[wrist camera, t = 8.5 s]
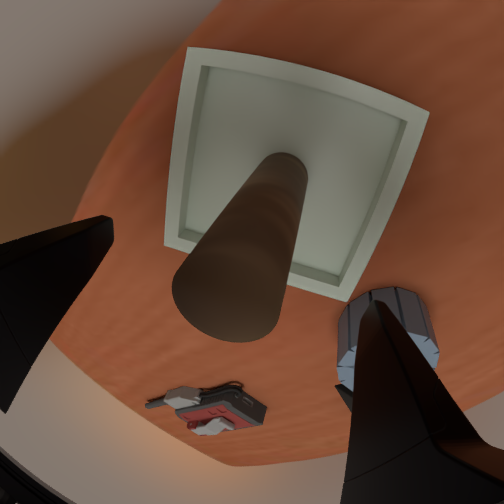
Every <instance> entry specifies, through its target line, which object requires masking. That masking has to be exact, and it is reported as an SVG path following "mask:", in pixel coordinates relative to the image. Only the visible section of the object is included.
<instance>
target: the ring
mask: <svg viewBox="0 0 504 504" xmlns="http://www.w3.org/2000/svg"><path fill="white" fill-rule="evenodd" d="M371 293H372V295H371V294H370V293H369V292H366V293H365V294H363V295H361V296H360V297H358V298H357V299H355V300H353V301H352V302H350V306H349V305H347V306H346V308H345V310H344V312H343V314H342V315H341V317H340V319H339V322H338V352H337V371H338V377H339V381H340V383H342V384H343V385H345V386H346V387H347V388H349V389H350V390H351V391H353V384H354V364H355V355H356V348H357V341H358V333H359V325H360V320H361V318H362V316H363V314H364V312H365V311H366V309H367V308H368V306H369V304H370V303H371V301H372V300H374V299H376V300H379V301H383V302H385V303H386V304H387V306H388V307H389V308H390V310H391V311H392V312H393V314H394V315H395V316H396V318H397V319H398V320H399V322H400V323H401V324H402V326H403V327H404V329H405V330H406V331H407V333H408V334H409V335H410V337H411V338H412V340H413V341H414V342H415V344H416V345H417V347H418V348H419V349H420V351H421V352H422V354H423V355H424V357H425V358H426V360H427V361H428V362H429V364H430V365H431V367H432V368H433V370H435V367H436V366H437V362H438V358H439V348H438V344H437V341H436V337H435V333H434V330H433V326H432V323H431V319H430V316H429V313H428V309H427V307H426V305H425V304H424V303H423V301H422V300H421V298H420V297H419V296H418V295H416V293H414V292H411V291H408V290H405V289H401V288H398V287H397V288H396V289H395V291H394V287H389V288H383V289H376V290H371Z"/></svg>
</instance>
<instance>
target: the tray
mask: <svg viewBox="0 0 504 504" xmlns="http://www.w3.org/2000/svg"><path fill="white" fill-rule="evenodd" d="M429 113H430V112H428V111H426V110H424V109H422V108H420V107H418V106H415V105H413V104H411V103H409V102H407V101H404V100H402V99H400V98H397V97H395V96H393V95H390V94H388V93H385V92H383V91H380V90H378V89H375V88H372V87H370V86H367V85H364V84H362V83H359V82H356V81H353V80H350V79H347V78H344V77H341V76H338V75H334V74H331V73H328V72H324V71H321V70H317V69H314V68H310V67H306V66H302V65H299V64H294V63H290V62H286V61H281V60H277V59H272V58H267V57H262V56H257V55H251V54H245V53H238V52H232V51H224V50H216V49H207V48H196V47H188V49H187V54H186V59H185V64H184V69H183V75H182V81H181V86H180V92H179V99H178V105H177V112H176V119H175V126H174V134H173V142H172V150H171V159H170V169H169V179H168V190H167V203H166V217H165V234H164V245H165V246H168V247H171V248H174V249H177V250H180V251H183V252H186V253H189V254H190V253H191V251H192V250H193V249H194V247H195V246H196V245H197V243H198V242H199V241H200V239H201V238H202V237H203V235H204V234H205V233H206V231H207V230H208V229H209V227H210V226H211V225H212V224H213V222H214V221H215V220H216V218H217V217H218V216H219V214H220V213H221V212H222V211H223V209H224V208H225V207H226V205H227V204H228V203H229V202H230V200H231V199H232V198H233V197H234V195H235V194H236V193H237V191H238V190H239V189H240V188H241V186H242V185H243V184H244V183H245V181H246V180H247V179H248V178H249V176H250V175H251V174H252V173H253V171H254V170H255V169H256V168H257V167H258V165H259V164H260V163H261V162H262V161H263V159H264V158H266V157H267V156H269V155H271V154H273V153H278V152H284V153H289V154H292V155H294V156H296V157H297V158H299V159H300V160H301V161H302V162H303V164H304V165H305V167H306V169H307V173H308V183H307V189H306V194H305V199H304V204H303V209H302V214H301V219H300V224H299V229H298V234H297V239H296V244H295V248H294V253H293V258H292V262H291V267H290V271H289V276H288V280H287V285H291V286H294V287H297V288H300V289H304V290H307V291H310V292H314V293H317V294H320V295H324V296H327V297H331V298H334V299H337V300H341V301H344V302H347V301H348V300H349V298H350V296H351V294H352V292H353V290H354V288H355V287H356V285H357V283H358V281H359V279H360V277H361V275H362V273H363V271H364V269H365V267H366V265H367V264H368V262H369V260H370V258H371V256H372V253H373V251H374V249H375V247H376V245H377V243H378V241H379V239H380V237H381V235H382V233H383V231H384V228H385V226H386V224H387V222H388V220H389V217H390V215H391V213H392V211H393V208H394V206H395V204H396V201H397V199H398V197H399V194H400V192H401V190H402V187H403V185H404V182H405V180H406V177H407V175H408V172H409V170H410V167H411V164H412V162H413V159H414V157H415V154H416V151H417V148H418V146H419V143H420V140H421V137H422V134H423V131H424V128H425V125H426V122H427V119H428V116H429Z"/></svg>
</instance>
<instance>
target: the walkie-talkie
mask: <svg viewBox="0 0 504 504" xmlns="http://www.w3.org/2000/svg"><path fill="white" fill-rule="evenodd" d="M163 405H170V406H172V407H173V408H175V409H176V410H175V413H176V415H177V416H178V417H179V418H181V419H182V420H184V421H185V422H187V423H188V424H187V428H188V429H190V430H191V431H193V432H195V433H197V434H198V435H200V436H205V435H215V434H218V433H219V432H222V431H229V430H236V429H241V428H247V427H253V426H258V425H263V421H264V417H265V413H266V408H267V407H266V406H265V405H263V404H262V403H260V402H259V401H257V400H256V399H254V398H253V397H251V396H250V395H248V394H247V393H245V392H244V391H243V390H242V388H241V387H239V386H237V385H227V386H226V385H225V386H224V387H223V386H222V387H221V388H220V387H219V388H216V389H213V390H210V391H208V392H204V391H202V390H201V389H196V388H190V387H185V386H183V387H180V388H177V389H174V390H168V392H167V394H166V396H165V397H164V398H162V399H158V400H155V401H153V402H150V403H146V404H145V407H146V408H147V409H150V408H154V407H158V406H163Z"/></svg>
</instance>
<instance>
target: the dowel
mask: <svg viewBox="0 0 504 504" xmlns="http://www.w3.org/2000/svg"><path fill="white" fill-rule="evenodd" d="M307 183H308V173H307V169H306V167H305V165H304V164H303V162H302V161H301V160H300V159H299V158H297V157H296V156H294V155H292V154H289V153H284V152H278V153H273V154H271V155H269V156H267V157H266V158H264V159H263V161H262V162H261V163H260V164H259V165H258V167H257V168H256V169H255V170H254V171H253V173H252V174H251V175H250V176H249V178H248V179H247V180H246V181H245V183H244V184H243V185H242V186H241V188H240V189H239V190H238V191H237V193H236V194H235V195H234V197H233V198H232V199H231V200H230V202H229V203H228V204H227V205H226V207H225V208H224V209H223V211H222V212H221V213H220V214H219V216H218V217H217V218H216V220H215V221H214V222H213V224H212V225H211V226H210V227H209V229H208V230H207V231H206V233H205V234H204V235H203V237H202V238H201V239H200V241H199V242H198V243H197V245H196V246H195V247H194V249H193V250H192V251H191V253H190V254H189V255H188V257H187V258H186V260H185V261H184V262H183V264H182V265H181V266H180V268H179V269H178V270H177V272H176V274H175V276H174V278H173V281H172V294H173V298H174V301H175V304H176V306H177V308H178V309H179V311H180V312H181V314H182V315H183V316H184V318H185V319H186V320H187V321H188V322H189V323H191V324H192V325H193V326H194V327H196V328H197V329H198V330H200V331H202V332H203V333H205V334H207V335H209V336H211V337H214V338H216V339H220V340H223V341H228V342H241V343H242V342H250V341H255V340H258V339H260V338H262V337H264V336H266V335H267V334H269V333H270V332H271V331H272V330H273V329H274V327H275V326H276V324H277V322H278V319H279V315H280V311H281V307H282V302H283V298H284V294H285V289H286V285H287V280H288V276H289V271H290V267H291V262H292V258H293V253H294V248H295V244H296V239H297V234H298V229H299V224H300V219H301V214H302V209H303V204H304V199H305V194H306V189H307Z"/></svg>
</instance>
